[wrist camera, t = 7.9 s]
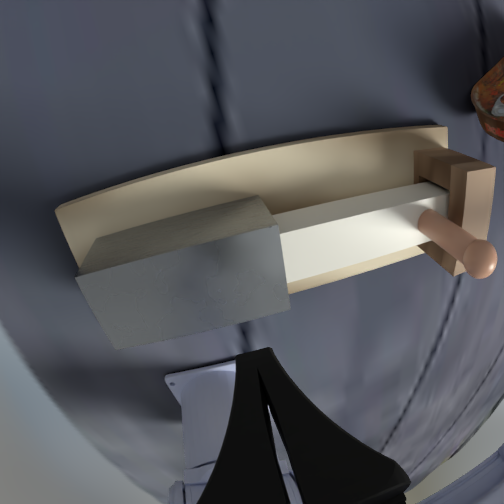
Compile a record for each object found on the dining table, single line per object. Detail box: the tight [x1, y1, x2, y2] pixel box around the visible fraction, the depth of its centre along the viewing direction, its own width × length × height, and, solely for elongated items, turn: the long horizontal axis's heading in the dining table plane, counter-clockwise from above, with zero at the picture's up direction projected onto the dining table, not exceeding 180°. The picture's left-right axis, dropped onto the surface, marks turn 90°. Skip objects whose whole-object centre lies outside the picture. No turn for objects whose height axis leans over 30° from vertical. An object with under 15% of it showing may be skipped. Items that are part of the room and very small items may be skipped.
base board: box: [54, 125, 448, 294], centre depth 20 cm, size 10×26×1 cm, turn 100°
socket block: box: [413, 147, 496, 276], centre depth 18 cm, size 7×3×5 cm, turn 10°
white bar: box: [272, 181, 497, 283], centre depth 15 cm, size 3×16×8 cm, turn 100°
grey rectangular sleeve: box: [75, 195, 291, 350], centre depth 17 cm, size 5×10×4 cm, turn 100°
